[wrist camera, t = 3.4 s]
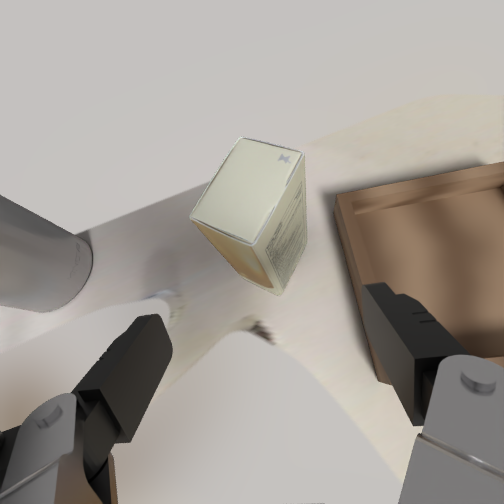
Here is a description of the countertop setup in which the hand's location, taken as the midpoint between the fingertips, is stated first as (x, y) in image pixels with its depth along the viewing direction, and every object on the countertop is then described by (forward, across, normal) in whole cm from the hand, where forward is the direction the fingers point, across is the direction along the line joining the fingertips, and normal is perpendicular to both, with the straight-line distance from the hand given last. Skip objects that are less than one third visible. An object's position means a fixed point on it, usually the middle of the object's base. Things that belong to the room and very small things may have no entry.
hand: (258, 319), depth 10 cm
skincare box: (+14, 0, +4) cm, 15 cm away
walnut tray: (+12, -14, +6) cm, 19 cm away
